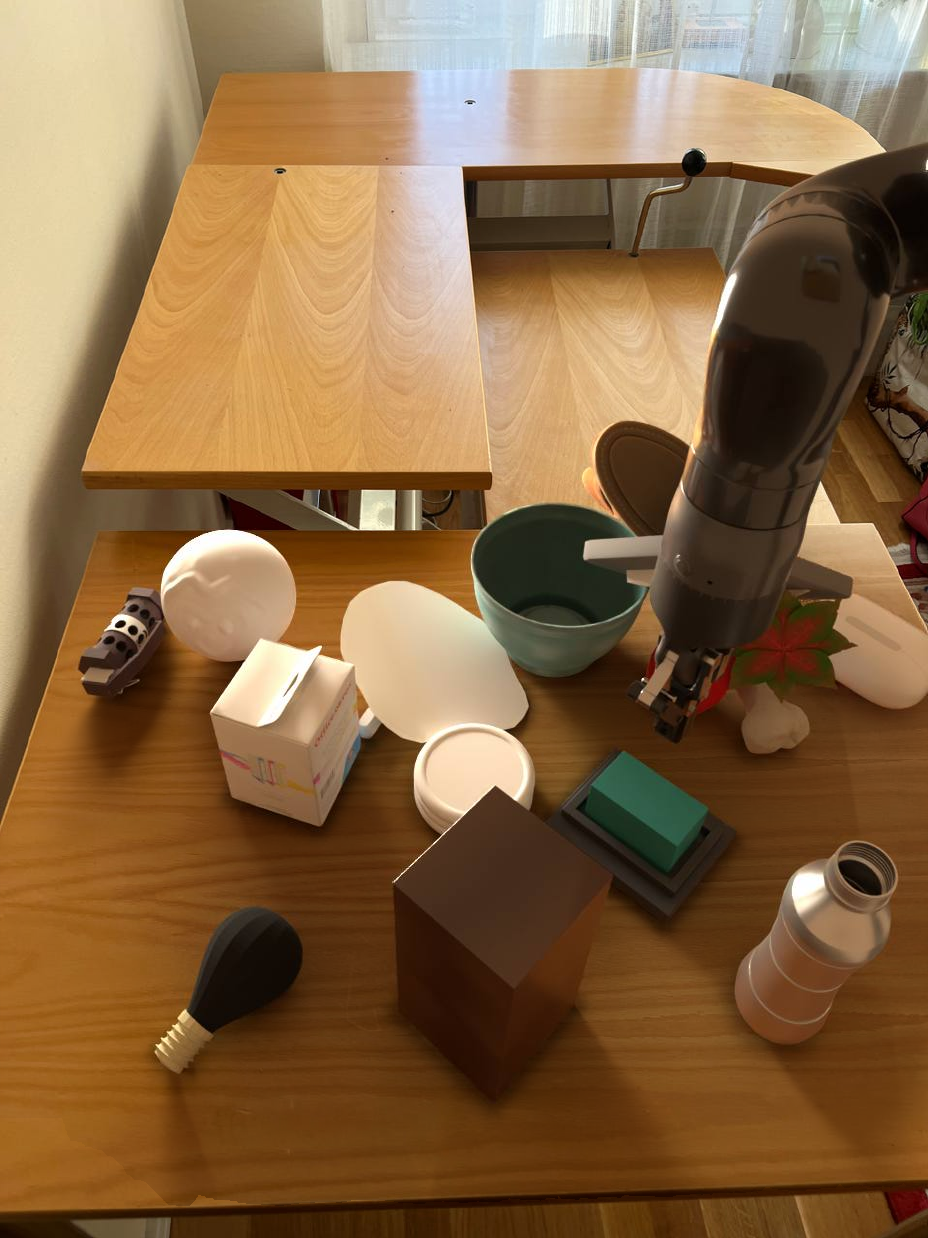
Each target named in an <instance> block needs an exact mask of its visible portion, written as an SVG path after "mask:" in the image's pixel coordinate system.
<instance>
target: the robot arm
mask: <svg viewBox="0 0 928 1238" xmlns="http://www.w3.org/2000/svg"><path fill="white" fill-rule="evenodd" d="M927 292H928V140H927V141H922V142H919V143H915V144H911V145H907V146H904V147H899V148H895V149H891V150H888V151H884V152H880V153H876V154H872V155H869V156H866V157H862V158H858V159H856V160H852V161H849V162H846V163H842V164H839V165H836V166H835V167H832V168H829V169H827V170H824V171H821V172H819V173H817V174H815V175H813V176H811V177H809V178H806V179H805V180H802V181H800V182H799V183H796V184H795V185H793V186H791V187H790V188H788V189H786V190H785V191H783V192H782V193H781V194H779V195H778V196H777V197H775V198H774V199H773V200H771V201H770V202H769V203H768V205H766V206H765V207H764V208H763V209H762V210H761V212H760V213H759V214H758V215H757V217H756V218H755V220H754V221H753V223H752V225H751V226H750V229H749V230H748V232H747V234H746V236H745V239H744V240H743V242H742V244H741V246H740V249H739V250H738V253H737V254H736V257H735V258H734V261H733V262H732V264H731V266H730V269H729V270H728V272H727V274H726V277H725V280H724V282H723V285H722V288H721V291H720V294H719V298H718V302H717V306H716V310H715V314H714V319H713V322H712V328H711V331H710V338H709V344H708V348H707V356H706V364H705V371H704V373H705V374H704V381H703V392H702V404H701V407H700V409H699V412H698V415H697V418H696V421H695V423H694V427H693V430H692V434H691V439H690V442H689V443H690V444H689V446H690V447H689V451H688V455H687V459H686V463H685V467H684V471H683V475H682V478H681V481H680V483H679V486H678V488H677V490H676V493H675V495H674V497H673V500H672V503H671V506H670V509H669V512H668V517H667V521H666V525H665V529H664V534H663V538H662V542H661V546H660V550H659V554H658V559H657V563H656V567H655V571H654V575H653V579H652V583H651V587H650V588H649V600H650V605H651V608H652V611H653V612H654V613H653V614H654V615H655V617H656V618H657V620H658V622H659V624H660V626H661V630H660V631H659V634H658V638H657V642H656V646H657V647H658V648H657V650H656V652H655V663H656V668H655V672H654V674H653V676H652V677H651V679H650V680H649V679H648V678H646V676H644V677H643V678H642V679H641V681H640V680H639V679H636V680H635V681H633V682H632V683H631V684H630V685H629V686H628V688H627V692H626V697H627V698H629V699H631V700H632V701H633V702H635V703H637V705H640V707H643V708H644V709H646V710H648V711H649V712H651V713H652V714H653V715H655V718H654V722H653V731H654V733H656V734H657V735H658V736H660V737H662V738H663V739H665V740H666V741H668V742H669V743H672V744H674V745H679V744H680V743H681V742H682V741H683V740H684V739H685V738H686V736H687V735H689V733H690V732H691V731H692V727H693V724H694V722H695V719H696V716H697V715H696V713H697V710H698V707H699V704H700V702H702V701H703V700H704V699H706V698H707V696H708V694H709V693H708V692H709V690H710V687H711V685H712V683H714V682H715V681H718V680H719V679H720V678H722V676H723V675H724V671H725V669H726V667H727V666H728V664H729V662H730V660H731V659H732V657H733V655H734V654H735V652H736V650H737V648H738V647H741V646H744V645H747V644H749V643H752V642H754V641H755V640H757V639H759V638H760V637H761V636H762V635H763V634H764V633H765V632H766V631H767V630H768V628H769V627H770V625H771V623H772V621H773V618H774V616H775V613H776V610H777V608H778V605H779V602H780V600H781V597H782V595H783V592H784V589H785V587H786V584H787V582H788V579H789V576H790V573H791V571H792V568H793V566H794V563H795V560H796V558H797V556H799V552H800V550H801V547H802V544H803V541H804V538H805V534H806V529H807V523H808V518H809V513H810V510H811V507H812V504H813V502H814V499H815V496H816V494H817V491H818V489H819V486H820V484H821V480H822V478H823V475H824V473H825V471H826V468H827V465H828V461H829V459H830V456H831V452H832V448H833V445H834V441H835V435H836V430H837V429H838V427H839V425H840V423H841V422H842V420H843V418H844V416H845V414H846V412H847V410H848V408H849V406H850V404H851V402H852V400H853V398H854V396H855V393H856V391H857V389H858V388H859V385H860V383H861V381H862V379H863V376H864V374H865V372H866V370H867V367H868V365H869V362H870V360H871V358H872V355H873V352H874V350H875V349H876V345H877V343H878V340H879V337H880V334H881V332H882V329H883V326H884V323H885V320H886V317H887V313H888V308H889V305H890V302H893V301H896V300H898V299H901V298H905V297H906V298H907V297H909V296H914V295H918V294H923V293H927Z"/></svg>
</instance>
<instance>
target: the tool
mask: <svg viewBox="0 0 928 1238" xmlns="http://www.w3.org/2000/svg"><path fill="white" fill-rule="evenodd" d="M382 724H383V723H382V722H381V721H380V720H379V719H378V718H377V717H376V716H375V715H374V714H373V713H372V711H371V709H370V708H369V707H367V709H365V711H364V713H363V714H362V716H360V718H359V730H360V738H361V739H367V740H369V739H371V738H373V736H374V734H375V733H376V732H377V731H378V729H379V727H380V726H381V725H382Z"/></svg>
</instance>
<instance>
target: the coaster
mask: <svg viewBox="0 0 928 1238" xmlns="http://www.w3.org/2000/svg"><path fill="white" fill-rule="evenodd" d="M494 785H496V786H497V787H498V788H500V789H501V790H502V791H504V792H505V793H506V794H508V795H509V796H510V797H512V798H513V799H514V800H515V801H517V802H518V803H519V804H521V805H522V806H523V807H525V808H526V809H527V810H529V811H530V809H531V807H532V804H533V797H534V791H535V785H536V771H535V766H534V763H533V760H532V758H531V755H530V753H529V752H528V751H527V749H526V747H525V746H524V744H522V742H521V741H520V740H518V739H517V738H516V737H515V736H514V735H512V734H511V733H509V732H507V731H506V730H501V729H499V728H496V727H493V726H489V725H483V724H462V725H457V726H453V727H450V728H448V729H445V730H443V731H441V732H439V733H438V734H436V735H435V736H434V737H432V738H431V739H430V740H429V741H428V742H425V744H424V746H423V747H422V748H421V750H420V752H419V754H418V755H417V758H416V761H415V763H414V770H413V796H414V801H415V804H416V807H417V810H418V811H419V813H420V815H421V817H422V818H423V819H424V821H425V822H426V823H427V825H428V826H429V827H431V829H433V830H434V831H436V832H437V833H439V835H441V836H442V835H443V834H444V833H445V832H446V831H447V830H448V829H449V828H450V827H452V826H453V825H454V824H455V823H456V822H457V821H458V820H459V819H460V818H461V817H462V816H463V815H464V814H465V813H466V812H467V811H468V810H469V809H470V808H471V807H472V806H473V805H475V804H476V803H477V802H478V801H479V800H480V799H481V798H482V797H483V796H484V795H485V794H486V793H487V792H488V791H489V790H490V789H491V788H492V787H493V786H494Z"/></svg>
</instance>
